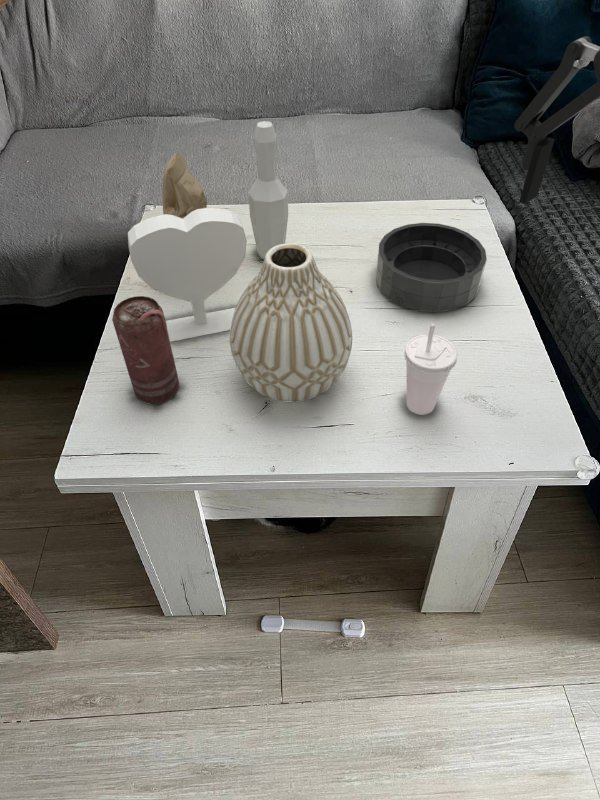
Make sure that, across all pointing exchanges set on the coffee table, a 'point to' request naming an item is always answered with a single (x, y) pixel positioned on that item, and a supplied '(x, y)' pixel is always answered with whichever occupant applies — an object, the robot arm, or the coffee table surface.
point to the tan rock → (181, 189)
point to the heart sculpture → (190, 263)
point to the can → (146, 349)
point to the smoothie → (427, 370)
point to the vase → (290, 328)
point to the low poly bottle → (267, 194)
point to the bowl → (430, 266)
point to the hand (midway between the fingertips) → (583, 221)
